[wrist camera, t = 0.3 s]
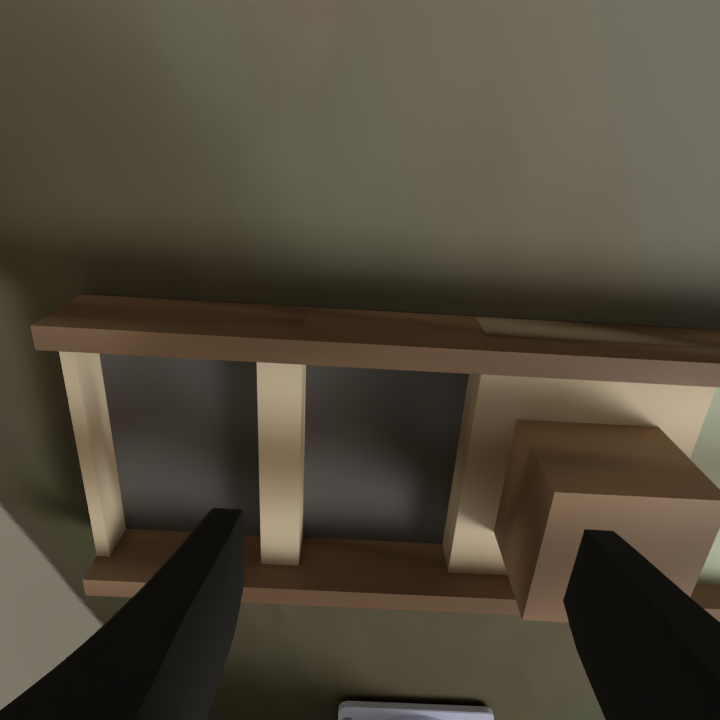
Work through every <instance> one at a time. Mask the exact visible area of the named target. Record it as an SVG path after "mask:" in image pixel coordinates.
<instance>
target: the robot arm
mask: <svg viewBox="0 0 720 720" xmlns="http://www.w3.org/2000/svg"><path fill="white" fill-rule="evenodd" d="M243 588H244V547H243V510H241V509H224V508H213V509H211V510H210V511H209V512H208V513H207V514H206V515H205V517H204V518H203V519H202V520H201V521H200V523H199V524H198V525H197V526H196V528H195V529H194V530H193V531H192V532H191V534H190V535H189V536H188V537H187V538H186V540H185V541H184V542H183V543H182V544H181V545H180V547H179V548H178V549H177V550H176V551H175V552H174V553H173V555H172V556H171V557H170V558H169V559H168V560H167V561H166V562H165V563H164V565H163V566H162V567H161V568H160V569H159V570H158V571H157V572H156V573H155V574H154V575H153V576H152V578H151V579H150V580H149V581H148V582H147V583H146V584H145V585H144V586H143V587H142V588H141V589H140V590H139V591H138V592H137V593H136V594H135V595H134V596H133V597H132V598H131V599H130V600H129V601H128V602H127V603H126V604H125V605H124V606H123V607H122V608H121V609H120V610H119V611H118V612H117V613H116V614H115V615H114V616H113V617H112V618H111V619H110V620H109V621H108V622H107V623H106V624H104V625H103V626H102V627H101V628H100V629H99V630H98V631H97V632H96V633H95V634H94V635H92V636H91V637H90V638H89V639H88V640H87V641H86V642H85V643H84V644H82V645H81V646H80V647H79V648H78V649H77V650H75V651H74V652H73V653H72V654H71V655H70V656H68V657H67V658H66V659H65V660H64V661H63V662H61V663H60V664H59V665H58V666H57V667H55V668H54V669H53V670H52V671H50V672H49V673H48V674H47V675H45V676H44V677H43V678H41V679H40V680H39V681H38V682H36V683H35V684H34V685H33V686H31V687H30V688H29V689H28V690H26V691H25V692H24V693H22V694H21V695H20V696H19V697H17V698H16V699H15V700H13V701H12V702H11V703H9V704H8V705H7V706H5V707H4V708H3V709H2V710H0V720H207V719H208V716H209V712H210V709H211V706H212V703H213V700H214V697H215V693H216V690H217V687H218V684H219V681H220V678H221V674H222V671H223V668H224V665H225V662H226V658H227V655H228V652H229V649H230V646H231V642H232V639H233V636H234V633H235V628H236V623H237V618H238V614H239V609H240V604H241V598H242V593H243ZM563 602H564V606H565V610H566V613H567V617H568V621H569V625H570V628H571V632H572V635H573V638H574V642H575V645H576V648H577V651H578V654H579V656H580V659H581V661H582V664H583V666H584V669H585V671H586V674H587V676H588V678H589V681H590V683H591V686H592V688H593V691H594V693H595V695H596V698H597V700H598V702H599V705H600V707H601V709H602V712H603V714H604V717H605V719H606V720H720V622H719V621H718V620H716V619H715V618H714V617H713V616H712V615H710V614H709V613H708V612H707V611H706V610H705V609H703V608H702V607H701V606H700V605H699V604H697V603H696V602H695V601H694V600H693V599H692V598H690V597H689V596H688V595H687V594H686V593H685V592H683V591H682V590H681V589H680V588H679V587H678V586H677V585H675V584H674V583H673V582H672V581H671V580H670V579H669V578H667V577H666V576H665V575H664V574H663V573H662V572H661V571H659V570H658V569H657V568H656V567H655V566H654V565H653V564H652V563H650V562H649V561H648V560H647V559H646V558H645V557H644V556H642V555H641V554H640V553H639V552H638V551H637V550H636V549H634V548H633V547H632V546H631V545H630V544H629V543H627V542H626V541H625V540H624V539H623V538H621V537H620V536H619V535H618V534H616V533H615V532H614V531H607V530H590V529H584V533H583V536H582V539H581V543H580V546H579V549H578V553H577V556H576V559H575V563H574V566H573V569H572V573H571V576H570V579H569V583H568V586H567V589H566V593H565V596H564V599H563ZM338 720H494V717H493V712H492V710H491V709H490V708H488V707H485V706H464V705H441V704H417V703H393V702H370V701H344V702H342V703H341V704H340V705H339V709H338Z"/></svg>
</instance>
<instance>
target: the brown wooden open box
mask: <svg viewBox="0 0 720 720" xmlns="http://www.w3.org/2000/svg"><path fill="white" fill-rule="evenodd" d="M30 327H31V332H32V336H33V341H34V346H35V350H43V351H59V354H60V360H61V365H62V370H63V376H64V381H65V387H66V392H67V397H68V403H69V408H70V413H71V419H72V424H73V429H74V435H75V440H76V445H77V451H78V456H79V462H80V467H81V472H82V478H83V483H84V488H85V494H86V499H87V504H88V510H89V515H90V521H91V526H92V531H93V537H94V542H95V547H96V553H97V557H96V559H95V560H94V562H93V564H92V565H91V567H90V568H89V570H88V572H87V573H86V575H85V577H84V578H83V584H84V589H85V594H86V595H90V596H111V597H133V596H134V595H135V594H136V593H137V592H138V591H139V590H140V589H141V588H142V587H143V586H144V585H145V584H146V583H147V582H148V581H149V580H150V579H151V578H152V576H153V575H154V574H155V573H156V572H157V571H158V570H159V569H160V568H161V567H162V566H163V565H164V563H165V562H166V561H167V560H168V559H169V558H170V557H171V556H172V555H173V553H174V552H175V551H176V550H177V549H178V548H179V547H180V545H181V544H182V543H183V542H184V541H185V540H186V538H187V537H188V536H189V535H190V534H191V532H192V531H193V530H194V529H195V528H196V526H197V525H198V524H199V523H200V521H201V520H202V519H203V518H204V517H205V515H206V514H207V513H208V512H209V511H210V510H211V509H213V508H224V509H241V510H243V547H244V588H243V593H242V598H241V602H243V603H265V604H286V605H308V606H330V607H352V608H374V609H396V610H418V611H439V612H461V613H483V614H505V615H520V612H519V608H518V605H517V602H516V599H515V596H514V593H513V590H512V587H511V584H510V580H509V577H508V574H507V571H506V568H505V565H504V562H503V559H502V556H501V553H500V549H499V546H498V543H497V540H496V537H495V534H494V528H495V523H496V519H497V514H498V509H499V504H500V499H501V494H502V489H503V484H504V480H505V475H506V470H507V465H508V460H509V455H510V450H511V445H512V441H513V436H514V431H515V426H516V421H517V419H518V420H537V421H556V422H575V423H594V424H612V425H631V426H650V427H659V428H660V429H661V430H662V431H663V432H664V433H665V434H666V435H667V436H668V437H669V438H670V439H671V440H672V441H673V442H674V443H675V444H676V445H677V446H678V447H679V448H680V449H681V450H682V451H683V452H684V453H685V454H686V455H687V456H688V457H689V458H690V460H691V461H692V462H693V463H694V464H695V465H696V466H697V467H698V468H699V469H700V470H701V471H702V472H703V473H704V474H705V475H706V476H707V477H708V478H709V479H710V480H711V481H712V482H713V483H714V484H715V485H716V486H717V487H718V488H719V489H720V330H706V329H688V328H670V327H653V326H635V325H618V324H600V323H583V322H565V321H547V320H530V319H512V318H495V317H477V316H459V315H442V314H424V313H407V312H389V311H371V310H354V309H336V308H319V307H301V306H283V305H266V304H248V303H231V302H213V301H195V300H178V299H160V298H143V297H125V296H107V295H90V294H81V295H79V296H78V297H76V298H75V299H73V300H71V301H70V302H68V303H66V304H65V305H63V306H61V307H60V308H58V309H56V310H55V311H53V312H52V313H50V314H48V315H47V316H45V317H43V318H42V319H40V320H38V321H37V322H35V323H33V324H32V325H30ZM690 598H692V599H693V600H694V601H695V602H696V603H697V604H699V605H700V606H701V607H702V608H703V609H705V610H706V611H707V612H708V613H709V614H710V615H712V616H713V617H714V618H715V619H716V620H718V621H719V622H720V528H719V531H718V533H717V536H716V538H715V540H714V543H713V545H712V547H711V550H710V552H709V554H708V557H707V559H706V562H705V564H704V566H703V569H702V571H701V573H700V576H699V578H698V580H697V583H696V585H695V587H694V590H693V592H692V595H691V597H690Z"/></svg>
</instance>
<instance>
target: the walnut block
mask: <svg viewBox="0 0 720 720" xmlns="http://www.w3.org/2000/svg"><path fill="white" fill-rule="evenodd" d="M719 528H720V489H719V488H718V487H717V486H716V485H715V484H714V483H713V482H712V481H711V480H710V479H709V478H708V477H707V476H706V475H705V474H704V473H703V472H702V471H701V470H700V469H699V468H698V467H697V466H696V465H695V464H694V463H693V462H692V461H691V460H690V458H689V457H688V456H687V455H686V454H685V453H684V452H683V451H682V450H681V449H680V448H679V447H678V446H677V445H676V444H675V443H674V442H673V441H672V440H671V439H670V438H669V437H668V436H667V435H666V434H665V433H664V432H663V431H662V430H661V429H660V428H659V427H650V426H631V425H612V424H594V423H575V422H556V421H537V420H518V419H517V421H516V426H515V431H514V436H513V441H512V445H511V450H510V455H509V460H508V465H507V470H506V475H505V480H504V484H503V489H502V494H501V499H500V504H499V509H498V514H497V519H496V523H495V528H494V534H495V537H496V540H497V543H498V546H499V549H500V553H501V556H502V559H503V562H504V565H505V568H506V571H507V574H508V577H509V580H510V584H511V587H512V590H513V593H514V596H515V599H516V602H517V605H518V608H519V612H520V615H521V618H522V620H532V621H554V622H569V621H568V617H567V613H566V610H565V606H564V602H563V599H564V596H565V593H566V589H567V586H568V583H569V579H570V576H571V573H572V569H573V566H574V563H575V559H576V556H577V553H578V549H579V546H580V543H581V539H582V536H583V533H584V529H590V530H607V531H614V532H615V533H616V534H618V535H619V536H620V537H621V538H623V539H624V540H625V541H626V542H627V543H629V544H630V545H631V546H632V547H633V548H634V549H636V550H637V551H638V552H639V553H640V554H641V555H642V556H644V557H645V558H646V559H647V560H648V561H649V562H650V563H652V564H653V565H654V566H655V567H656V568H657V569H658V570H659V571H661V572H662V573H663V574H664V575H665V576H666V577H667V578H669V579H670V580H671V581H672V582H673V583H674V584H675V585H677V586H678V587H679V588H680V589H681V590H682V591H683V592H685V593H686V594H687V595H688V596H689V597H691V595H692V592H693V590H694V587H695V585H696V583H697V580H698V578H699V576H700V573H701V571H702V569H703V566H704V564H705V562H706V559H707V557H708V554H709V552H710V550H711V547H712V545H713V543H714V540H715V538H716V536H717V533H718V531H719Z"/></svg>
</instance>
